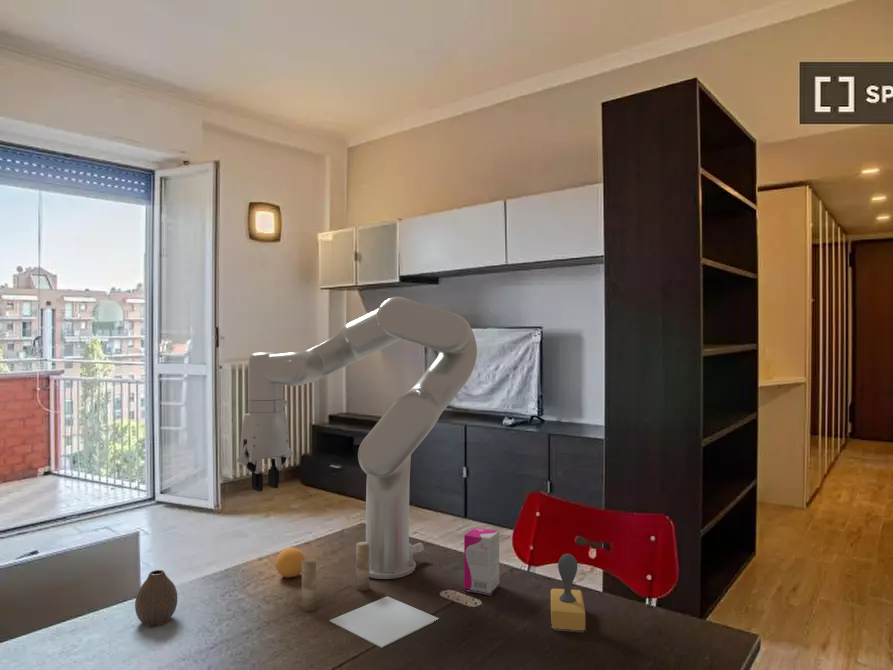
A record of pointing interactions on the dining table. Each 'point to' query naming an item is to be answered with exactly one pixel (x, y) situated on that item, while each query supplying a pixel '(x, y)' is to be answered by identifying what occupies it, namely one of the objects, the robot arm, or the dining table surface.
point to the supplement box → (481, 560)
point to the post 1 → (308, 585)
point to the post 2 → (362, 566)
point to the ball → (289, 562)
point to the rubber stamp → (567, 598)
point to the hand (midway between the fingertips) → (265, 488)
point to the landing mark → (384, 621)
